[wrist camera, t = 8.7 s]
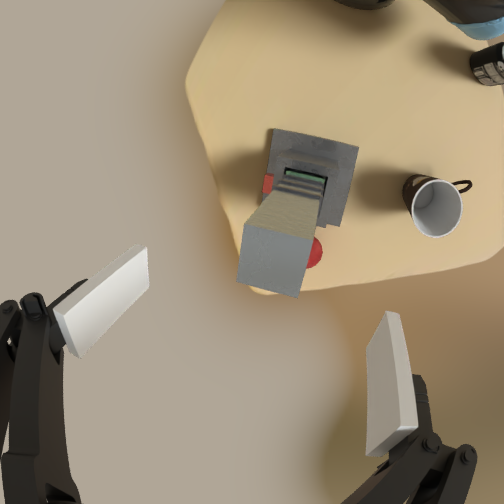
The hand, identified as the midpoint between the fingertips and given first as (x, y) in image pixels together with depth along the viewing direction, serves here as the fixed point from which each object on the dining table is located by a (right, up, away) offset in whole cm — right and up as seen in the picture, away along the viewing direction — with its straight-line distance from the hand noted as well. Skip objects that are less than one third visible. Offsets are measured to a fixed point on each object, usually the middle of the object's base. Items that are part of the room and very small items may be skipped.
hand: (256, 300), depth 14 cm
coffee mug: (+30, +13, +27) cm, 42 cm away
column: (+7, +11, +23) cm, 27 cm away
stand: (+9, +15, +31) cm, 36 cm away
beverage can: (+40, +35, +13) cm, 55 cm away
